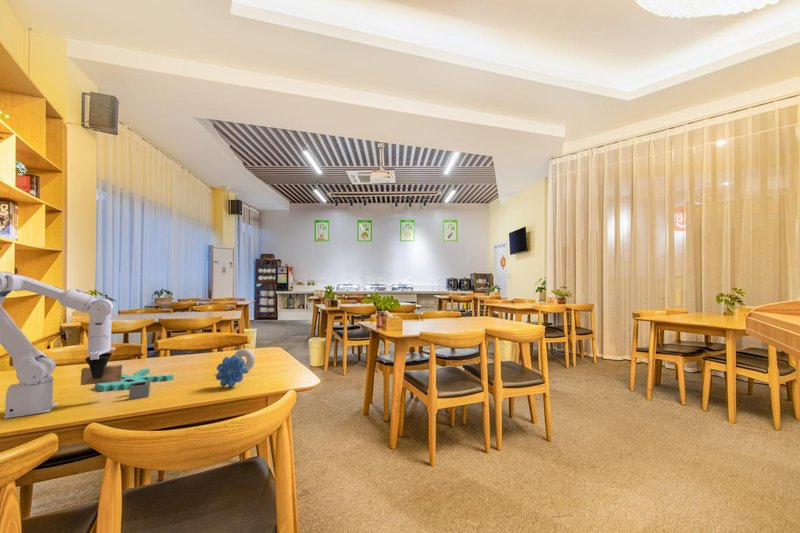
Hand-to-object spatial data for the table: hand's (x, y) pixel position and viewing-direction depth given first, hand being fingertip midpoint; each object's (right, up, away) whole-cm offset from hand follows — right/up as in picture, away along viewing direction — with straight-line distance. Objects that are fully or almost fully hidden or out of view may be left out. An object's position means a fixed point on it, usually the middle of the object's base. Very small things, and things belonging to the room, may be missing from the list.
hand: (98, 377), depth 112 cm
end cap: (+9, -8, +5) cm, 13 cm away
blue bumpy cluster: (+36, -9, +17) cm, 41 cm away
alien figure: (-5, -9, +20) cm, 23 cm away
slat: (+1, -2, 0) cm, 2 cm away
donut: (+31, -10, +36) cm, 49 cm away
